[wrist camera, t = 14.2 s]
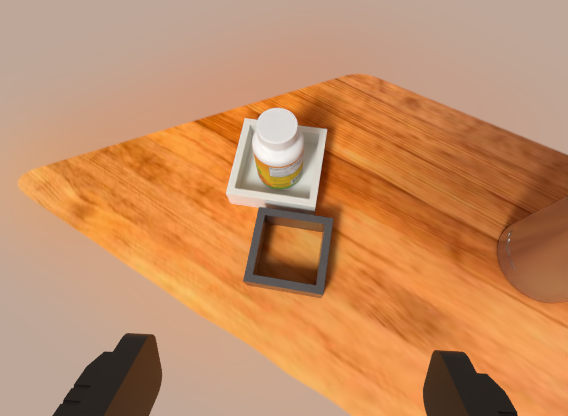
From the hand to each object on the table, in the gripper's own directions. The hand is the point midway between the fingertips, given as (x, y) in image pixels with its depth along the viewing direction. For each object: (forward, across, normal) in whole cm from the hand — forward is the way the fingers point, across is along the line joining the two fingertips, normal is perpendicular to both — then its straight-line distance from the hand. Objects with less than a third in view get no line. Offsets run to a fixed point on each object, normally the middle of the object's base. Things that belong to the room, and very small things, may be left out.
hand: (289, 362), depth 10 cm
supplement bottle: (+32, +2, +5) cm, 32 cm away
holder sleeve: (+25, +1, +12) cm, 28 cm away
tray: (+32, +2, +5) cm, 33 cm away
